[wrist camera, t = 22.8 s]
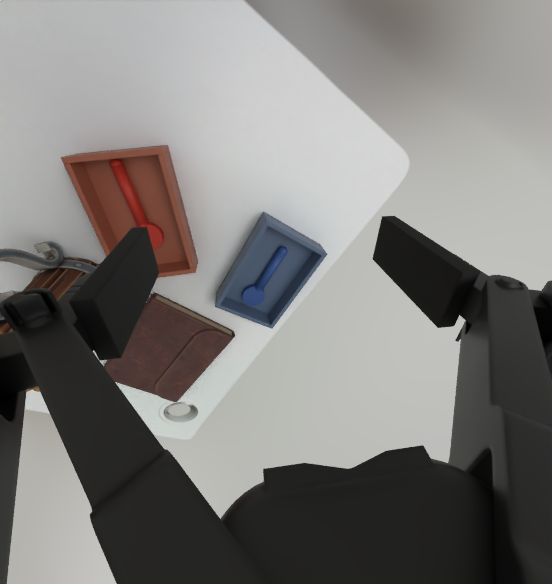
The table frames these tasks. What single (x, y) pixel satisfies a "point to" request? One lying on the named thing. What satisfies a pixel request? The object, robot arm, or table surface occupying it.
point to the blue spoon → (263, 280)
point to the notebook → (168, 349)
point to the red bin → (151, 193)
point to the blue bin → (285, 279)
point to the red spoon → (135, 203)
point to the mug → (45, 273)
